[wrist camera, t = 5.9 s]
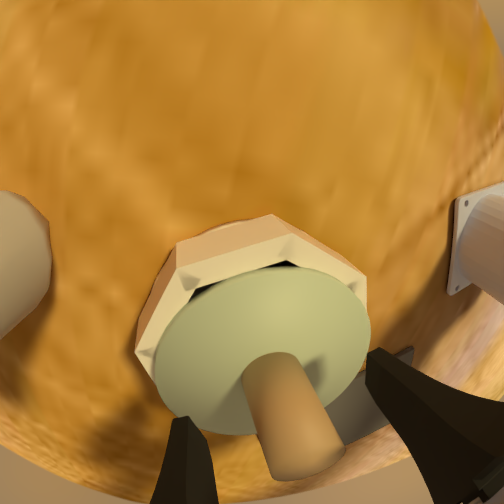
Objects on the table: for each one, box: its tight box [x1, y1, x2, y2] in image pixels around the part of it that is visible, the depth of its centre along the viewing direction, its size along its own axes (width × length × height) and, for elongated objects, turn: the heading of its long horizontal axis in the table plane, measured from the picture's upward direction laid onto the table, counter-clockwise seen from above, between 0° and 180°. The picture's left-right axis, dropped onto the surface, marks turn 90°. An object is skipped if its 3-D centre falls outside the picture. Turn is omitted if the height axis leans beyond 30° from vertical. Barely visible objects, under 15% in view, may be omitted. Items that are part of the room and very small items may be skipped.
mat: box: [324, 346, 414, 446], centre depth 23 cm, size 14×12×1 cm
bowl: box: [135, 214, 367, 385], centre depth 14 cm, size 11×11×3 cm
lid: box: [155, 266, 371, 481], centre depth 11 cm, size 10×10×6 cm
